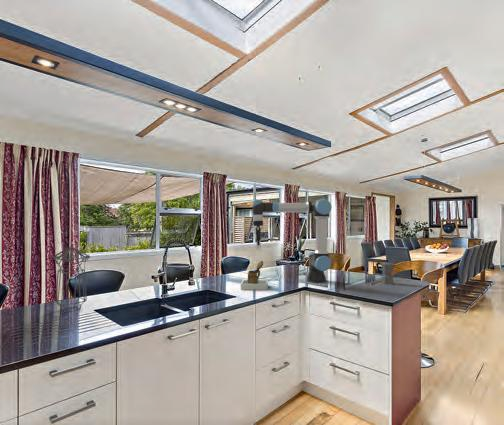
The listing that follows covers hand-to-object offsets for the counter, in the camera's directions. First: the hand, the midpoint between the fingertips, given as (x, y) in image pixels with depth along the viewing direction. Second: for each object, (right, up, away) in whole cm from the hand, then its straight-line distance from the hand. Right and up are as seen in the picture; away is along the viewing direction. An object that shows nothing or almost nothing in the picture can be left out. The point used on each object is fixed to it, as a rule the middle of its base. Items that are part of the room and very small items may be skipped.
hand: (258, 248), depth 240 cm
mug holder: (-3, -27, -7) cm, 28 cm away
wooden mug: (-3, -27, -6) cm, 28 cm away
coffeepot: (+98, -27, +6) cm, 102 cm away
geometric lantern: (-106, -27, -61) cm, 126 cm away
